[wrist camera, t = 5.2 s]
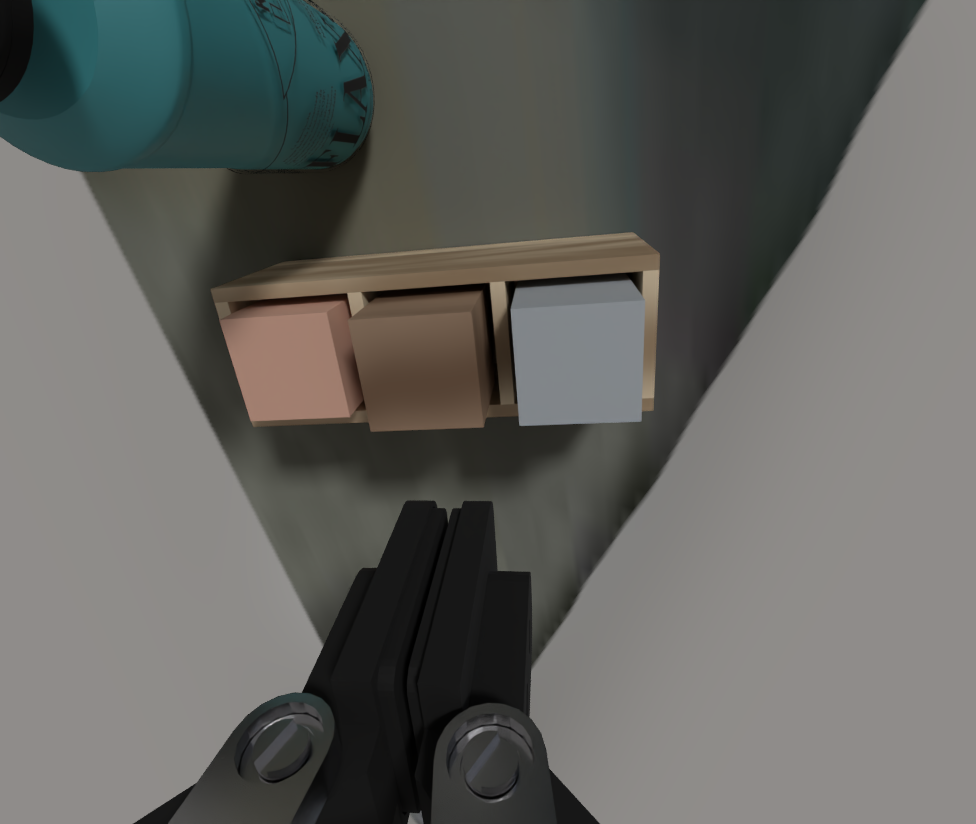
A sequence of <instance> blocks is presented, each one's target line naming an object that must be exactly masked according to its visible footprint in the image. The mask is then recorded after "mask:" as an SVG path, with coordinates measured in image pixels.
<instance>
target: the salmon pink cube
mask: <svg viewBox="0 0 976 824" xmlns="http://www.w3.org/2000/svg"><path fill="white" fill-rule="evenodd" d="M351 317H352V314H351V309H350V304H349V299H348V294H347V293H342V294H328V295H315V296H301V297H288V298H274V299H262V300H260V301H258V302H256V303H253V304H251V305H249V306H247V307H245V308H243V309H241V310H239V311H237V312H235V313H232V314H230V315H228V316H226V317H224V318H222V319H220V320H219V321H220V324H221V327H222V331H223V334H224V337H225V340H226V343H227V347H228V350H229V353H230V356H231V360H232V363H233V366H234V369H235V372H236V376H237V379H238V382H239V385H240V388H241V392H242V395H243V398H244V401H245V404H246V408H247V411H248V414H249V417H250V420H251V421H269V420H293V419H317V418H341V417H351V415H352V414H353V413H354V411H355V410H356V409H357V407H358V406H359V405H360V404H361V402H362V401H363V400H364V396H363V392H362V387H361V382H360V377H359V373H358V368H357V363H356V358H355V353H354V349H353V344H352V339H351V334H350V329H349V325H348V319H350V318H351Z"/></svg>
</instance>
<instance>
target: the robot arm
mask: <svg viewBox="0 0 976 824" xmlns="http://www.w3.org/2000/svg"><path fill="white" fill-rule="evenodd" d="M531 655H532V594H531V573H530V572H513V571H497V556H496V541H495V526H494V511H493V503H492V501H464V502H463V504H462V508H453V509H452V512H451V516H450V519H449V523H448V519H447V512H446V509H445V508H437V504H436V502H435V501H406V502H405V504H404V506H403V508H402V511H401V513H400V515H399V518H398V520H397V522H396V525H395V527H394V530H393V532H392V534H391V537H390V539H389V541H388V544H387V546H386V548H385V551H384V553H383V556H382V558H381V560H380V563H379V565H378V567H377V568H363V569H361V570H360V571H359V573H358V574H357V576H356V578H355V580H354V582H353V584H352V586H351V588H350V591H349V593H348V595H347V597H346V599H345V601H344V603H343V606H342V608H341V610H340V612H339V614H338V616H337V618H336V621H335V623H334V625H333V627H332V629H331V631H330V633H329V636H328V638H327V640H326V642H325V644H324V646H323V648H322V651H321V653H320V655H319V657H318V659H317V662H316V664H315V666H314V668H313V670H312V672H311V674H310V676H309V679H308V681H307V683H306V685H305V687H304V689H303V691H302V693H290V694H286V695H281V696H278V697H276V698H274V699H271V700H270V701H267V702H265V703H263V704H261V705H260V706H259V707H257V708H256V709H255V710H254V711H252V712H251V713H250V714H248V715H247V716H246V717H245V718H244V719H243V721H242V722H241V723H240V724H239V725H238V726H237V727H236V729H235V730H234V731H233V733H232V734H231V735H230V737H229V738H228V740H227V741H226V742H225V744H224V745H223V747H222V748H221V749H220V751H219V752H218V754H217V755H216V757H215V758H214V759H213V761H212V762H211V764H210V765H209V767H208V768H207V769H206V771H205V772H204V773H203V775H202V776H201V778H200V779H199V781H198V782H197V783H196V784H194V785H193V786H191V787H190V788H188V789H186V790H185V791H183V792H182V793H180V794H179V795H177V796H176V797H174V798H172V799H171V800H169V801H168V802H166V803H165V804H163V805H161V806H160V807H158V808H157V809H156V810H154V811H152V812H151V813H149V814H148V815H146V816H144V817H143V818H142V819H140V820H138V821H137V822H135V823H134V824H407V823H408V818H409V814H410V813H420V811H422V817H423V822H424V824H599V822H598V821H597V820H596V819H595V818H594V817H593V816H592V815H591V814H590V813H589V811H588V810H587V809H586V808H585V807H584V806H583V805H582V804H581V803H580V802H579V801H578V800H577V798H575V796H574V795H573V794H572V793H571V792H570V791H569V790H568V789H567V787H566V786H565V785H563V783H562V782H561V781H560V780H559V779H558V778H557V777H556V776H555V775H554V773H553V772H552V771H551V770H550V769H549V766H548V759H547V752H546V748H545V744H544V741H543V738H542V735H541V733H540V731H539V730H538V728H537V727H536V725H535V724H534V722H533V721H532V719H530V718H529V714H530V685H531V684H530V683H531Z"/></svg>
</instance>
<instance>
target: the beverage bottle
mask: <svg viewBox="0 0 976 824" xmlns="http://www.w3.org/2000/svg"><path fill="white" fill-rule="evenodd" d="M308 1H310V2H309V3H311V2H312V1H311V0H308ZM308 1H307V2H308ZM312 4H314V2H312ZM310 5H311V4H310ZM310 5H309V4H308V3H306V1H305V2H304V1H302V0H0V137H2V138H3V139H4V140H6V141H7V142H9V143H10V144H12V145H13V146H15V147H17V148H18V149H20V150H22V151H23V152H25V153H27V154H29V155H30V156H33V157H35V158H37V159H39V160H42V161H44V162H46V163H49V164H51V165H55V166H58V167H61V168H64V169H69V170H75V171H81V172H105V171H113V170H118V169H122V168H227V169H228V168H232V169H236V170H237V169H263V170H264V171H265V169H268V170H269V169H278V172H280V171H279V169H281V172H283V171H284V173H285V170H283V171H282V169H292V170H293V169H323V168H328V167H329V168H330V167H332V166H335V165H337V164H339V163H341V162H342V163H344V162H343V161H344V160H347V159H348V157H350V156H351V155H352V154H353V153H354V152H355V151H356V150H357V148H358V147H359V146H360V145H361V143H362V141H363V140H364V138H365V136H366V134H367V132H368V129H369V126H370V123H371V124H372V122H371V118H372V119H373V117H372V112H373V114H374V108H373V91H374V87H373V91H372V84H371V80H370V76H369V73H368V70H367V67H366V64H365V61H364V58H363V57H362V54H361V52H360V51H359V50H358V49H359V47H358V48H357V45H355V43H354V42H355V41H354V40H352V39H353V38H352V39H351V38H350V37H349V35H348V34H347V33H346V31H345V30H343V29H342V28H341V27H342V26H341V27H340V26H339V25H338V24H336V23H335V22H334V20H333V19H332V18H331V19H330V18H329V17H328V15H327V14H326V13H324V12H323V11H322V10H321V9H320V8H319V9H320V10H321V11H322V13H323V14H322V13H321V12H319V11H318V10H316V9H315V8H313V7H312V6H310ZM314 6H316V7H317V4H314ZM317 8H318V7H317ZM322 9H323V8H322ZM325 15H326V16H325ZM334 18H335V17H334ZM337 20H338V19H337ZM339 23H340V22H339ZM341 25H342V24H341ZM345 29H346V28H345ZM348 31H349V30H348ZM349 32H350V31H349ZM349 32H348V33H349ZM350 36H351V35H350ZM352 36H353V35H352ZM355 40H356V39H355ZM353 41H354V42H353ZM356 42H357V41H356ZM358 45H359V44H358ZM361 50H362V49H361ZM362 52H363V51H362ZM363 54H364V53H363ZM365 59H366V58H365ZM366 61H367V60H366ZM367 64H368V63H367ZM368 67H369V66H368ZM369 70H370V69H369ZM370 74H371V72H370ZM371 78H372V76H371ZM372 83H373V80H372ZM370 127H371V126H370ZM369 130H370V129H369ZM368 133H369V132H368ZM367 136H368V134H367ZM366 138H367V137H366ZM365 140H366V139H365ZM364 142H365V141H364ZM362 145H363V144H362ZM361 147H362V146H361ZM361 147H360V148H361ZM359 150H360V149H359ZM359 150H358V151H359ZM358 151H357V152H358ZM354 156H355V155H354ZM354 156H353V157H354ZM353 157H352V158H353ZM347 162H348V161H347ZM347 162H346V163H347ZM344 164H345V163H344ZM339 165H340V164H339ZM341 166H342V165H341ZM335 167H337V166H335ZM335 167H333V168H335ZM337 168H338V167H337ZM331 169H332V168H331ZM335 169H336V168H335ZM229 170H230V169H229ZM263 170H262V171H259V172H263ZM292 170H291V171H292ZM231 171H232V170H231ZM245 171H247V170H245ZM271 171H272V170H271ZM276 171H277V170H276ZM286 171H287V170H286ZM289 171H290V170H289ZM291 171H290V172H291ZM295 171H296V170H295ZM233 172H235V171H233ZM242 172H243V171H242ZM252 172H253V171H252ZM267 172H268V171H267ZM267 172H266V173H267ZM274 172H275V171H274ZM281 172H280V173H281ZM236 173H238V172H236ZM246 173H247V172H246ZM254 173H255V172H254ZM254 173H253V174H254ZM257 173H258V172H257ZM257 173H256V174H257ZM264 173H265V172H264ZM264 173H262V174H264ZM270 173H271V172H270ZM275 173H276V172H275ZM291 173H302V172H291ZM305 173H306V172H305ZM240 174H241V173H240ZM259 174H261V173H259ZM272 174H274V173H273V172H272Z"/></svg>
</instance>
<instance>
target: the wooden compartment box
mask: <svg viewBox="0 0 976 824" xmlns="http://www.w3.org/2000/svg"><path fill="white" fill-rule="evenodd" d="M659 263H660V254H659V253H658V252H657V251H656V250H654V249H653V248H652V247H651V246H649V245H648V244H647V243H646V242H644V241H643V240H642V239H641V238H639V237H638V236H637V235H636V234H634V233H633V232H630V233H618V234H607V235H595V236H583V237H571V238H559V239H547V240H535V241H523V242H511V243H499V244H487V245H475V246H463V247H451V248H440V249H428V250H416V251H404V252H392V253H380V254H368V255H356V256H344V257H332V258H320V259H308V260H296V261H285V262H281V263H279V264H276V265H273V266H271V267H268V268H265V269H263V270H260V271H257V272H255V273H252V274H249V275H246V276H244V277H241V278H238V279H236V280H233V281H230V282H228V283H225V284H222V285H220V286H217V287H214V288H212V289H210V290H211V293H212V296H213V300H214V303H215V306H216V309H217V312H218V316H219V319H222V318H224V317H226V316H228V315H230V314H232V313H235V312H237V311H239V310H241V309H243V308H245V307H247V306H249V305H251V304H253V303H256V302H258V301H260V300H262V299H274V298H288V297H301V296H315V295H328V294H342V293H347V294H348V299H349V304H350V309H351V314H352V316H354V315H355V314H356V313H357V312H359V311H360V310H361V309H362V308H364V307H365V306H366V305H368V304H369V303H370V302H371V301H373V300H374V299H375V298H376V297H378V296H379V295H380V294H382V293H383V292H384V291H386V290H399V289H413V288H426V287H440V286H453V285H467V284H480V283H486V288H487V299H488V309H489V320H490V331H491V341H492V352H493V363H494V373H495V383H494V387H493V391H492V395H491V399H490V404H489V408H488V412H487V416H486V417H510V416H519V413H518V400H517V387H516V374H515V361H514V347H513V334H512V321H511V306H512V302H513V298H514V294H515V290H516V286H517V282H518V281H521V280H534V279H548V278H561V277H575V276H588V275H602V274H615V273H626V274H627V275H628V277H629V278H630V280H631V281H632V282H633V284H634V285H635V287H636V288H637V289H638V291H639V292H640V294H641V295H642V296H643V298H644V299H645V323H644V355H643V386H642V411H653V407H654V383H655V359H656V335H657V311H658V287H659ZM251 422H252V425H253V427H263V426H288V425H313V424H337V423H362V422H369V420H368V416H367V411H366V406H365V401H364V400H363V401H362V402H361V404H360V405H359V406H358V407H357V409H356V410H355V411H354V413H353V414H352V415H351V417H341V418H317V419H293V420H269V421H251Z"/></svg>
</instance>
